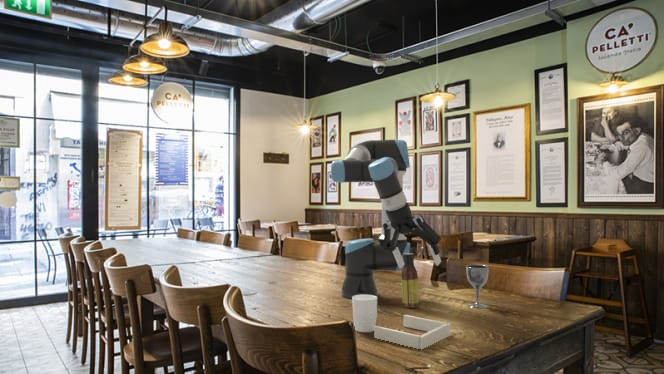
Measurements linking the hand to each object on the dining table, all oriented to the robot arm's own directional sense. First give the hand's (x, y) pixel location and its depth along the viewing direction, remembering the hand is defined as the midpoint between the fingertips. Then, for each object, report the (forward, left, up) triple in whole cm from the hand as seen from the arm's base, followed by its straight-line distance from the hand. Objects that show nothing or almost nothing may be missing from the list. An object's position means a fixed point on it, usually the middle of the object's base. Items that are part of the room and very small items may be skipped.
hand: (419, 264), depth 145 cm
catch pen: (+4, -13, -19) cm, 23 cm away
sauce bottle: (-15, +18, -19) cm, 30 cm away
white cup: (-11, -16, -19) cm, 27 cm away
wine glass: (+4, +35, -19) cm, 40 cm away
